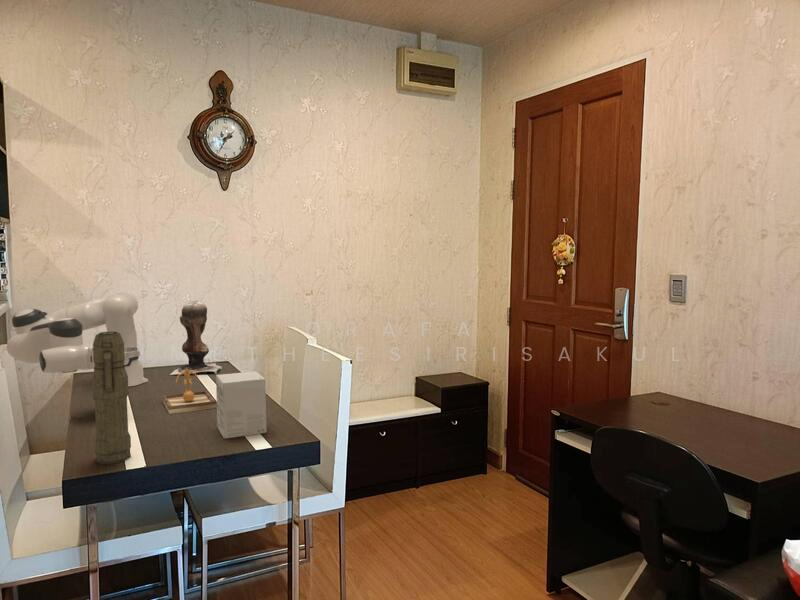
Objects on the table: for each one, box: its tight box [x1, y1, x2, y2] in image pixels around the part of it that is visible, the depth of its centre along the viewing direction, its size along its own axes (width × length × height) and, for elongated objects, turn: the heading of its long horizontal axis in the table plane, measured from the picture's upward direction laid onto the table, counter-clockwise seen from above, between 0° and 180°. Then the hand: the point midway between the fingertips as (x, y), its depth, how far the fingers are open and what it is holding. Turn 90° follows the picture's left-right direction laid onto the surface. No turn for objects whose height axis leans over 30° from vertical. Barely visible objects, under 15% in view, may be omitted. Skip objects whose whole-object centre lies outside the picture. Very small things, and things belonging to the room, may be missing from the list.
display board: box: [162, 390, 217, 415], centre depth 211 cm, size 18×16×2 cm
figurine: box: [175, 369, 200, 402], centre depth 211 cm, size 8×6×12 cm
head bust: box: [169, 300, 223, 376], centre depth 271 cm, size 22×25×35 cm
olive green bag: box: [91, 331, 132, 465], centre depth 156 cm, size 9×12×35 cm
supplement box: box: [215, 370, 268, 439], centre depth 181 cm, size 13×13×18 cm
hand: (138, 351), depth 203 cm, fingers open, 8 cm apart
